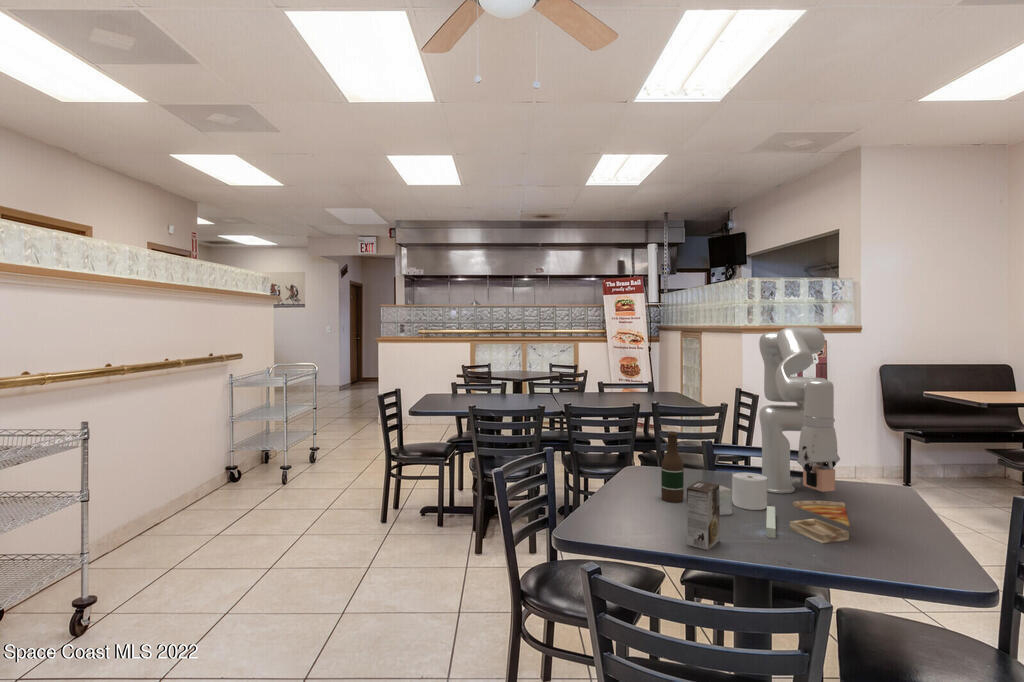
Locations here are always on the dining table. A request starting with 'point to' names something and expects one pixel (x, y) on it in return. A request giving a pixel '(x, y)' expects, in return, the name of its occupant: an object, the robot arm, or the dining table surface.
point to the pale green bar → (770, 522)
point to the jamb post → (725, 500)
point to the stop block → (822, 478)
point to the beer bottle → (672, 472)
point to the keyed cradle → (819, 530)
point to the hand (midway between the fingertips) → (818, 484)
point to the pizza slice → (826, 510)
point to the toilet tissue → (749, 491)
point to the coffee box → (703, 515)
